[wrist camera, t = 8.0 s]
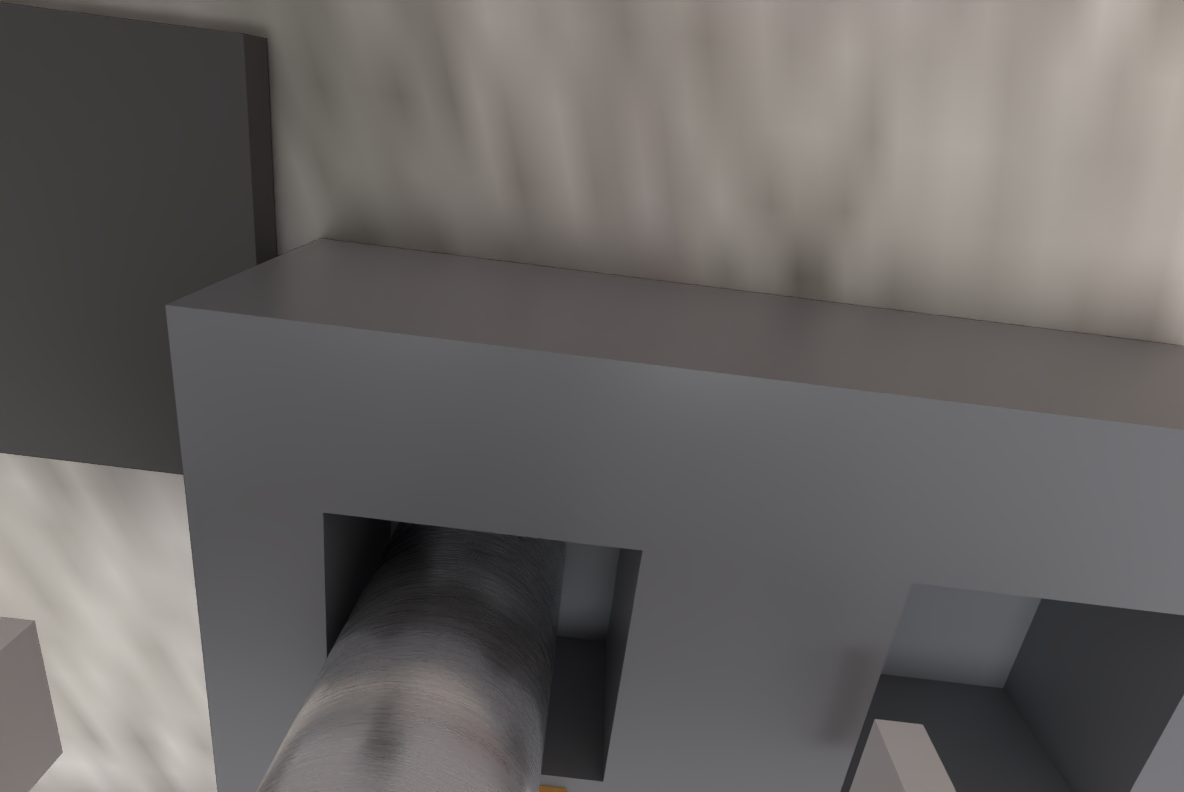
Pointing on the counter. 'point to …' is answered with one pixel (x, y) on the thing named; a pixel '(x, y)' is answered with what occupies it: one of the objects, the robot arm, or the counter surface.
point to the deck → (118, 219)
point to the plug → (435, 672)
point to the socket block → (700, 516)
